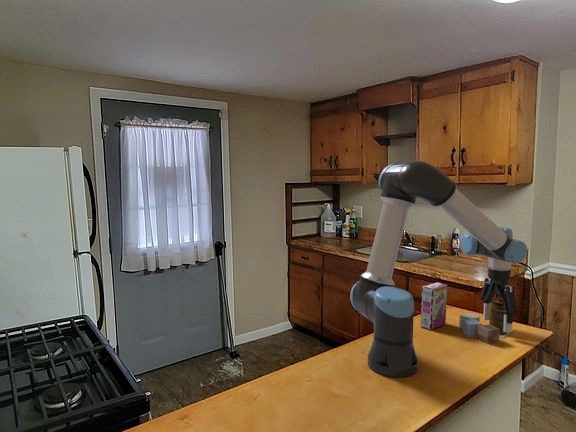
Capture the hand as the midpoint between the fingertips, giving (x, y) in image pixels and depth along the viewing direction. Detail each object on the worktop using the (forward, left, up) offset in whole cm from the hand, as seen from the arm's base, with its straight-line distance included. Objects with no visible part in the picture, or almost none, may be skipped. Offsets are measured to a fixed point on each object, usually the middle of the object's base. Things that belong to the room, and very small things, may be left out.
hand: (496, 325), depth 146 cm
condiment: (0, 0, -3) cm, 3 cm away
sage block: (-8, +5, -3) cm, 10 cm away
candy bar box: (-21, +9, -3) cm, 23 cm away
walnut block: (-8, -7, -3) cm, 11 cm away
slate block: (-11, -1, -3) cm, 11 cm away
